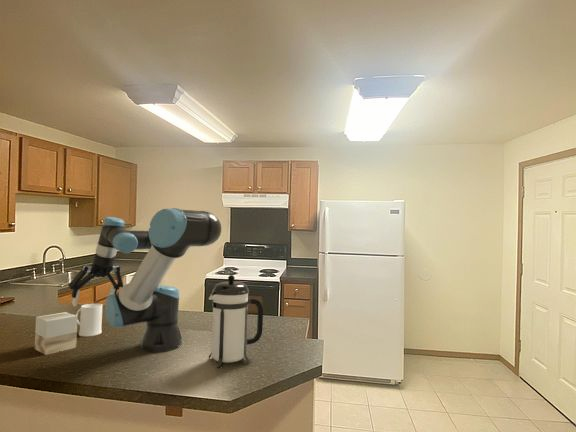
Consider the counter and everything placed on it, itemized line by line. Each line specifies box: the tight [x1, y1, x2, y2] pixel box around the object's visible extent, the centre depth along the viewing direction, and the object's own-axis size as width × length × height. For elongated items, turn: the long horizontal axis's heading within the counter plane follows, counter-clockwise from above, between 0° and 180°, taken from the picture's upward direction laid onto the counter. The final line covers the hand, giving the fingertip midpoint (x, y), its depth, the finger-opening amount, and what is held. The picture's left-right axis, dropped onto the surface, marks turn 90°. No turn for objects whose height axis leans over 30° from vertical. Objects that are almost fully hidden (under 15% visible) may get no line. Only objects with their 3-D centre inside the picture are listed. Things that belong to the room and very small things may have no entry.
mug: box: [75, 303, 103, 337], centre depth 145 cm, size 12×8×12 cm
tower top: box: [34, 311, 79, 338], centre depth 126 cm, size 10×10×6 cm
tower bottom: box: [33, 331, 78, 356], centre depth 126 cm, size 10×10×6 cm
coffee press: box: [208, 274, 264, 369], centre depth 119 cm, size 17×16×30 cm
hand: (92, 303), depth 137 cm, fingers open, 13 cm apart
